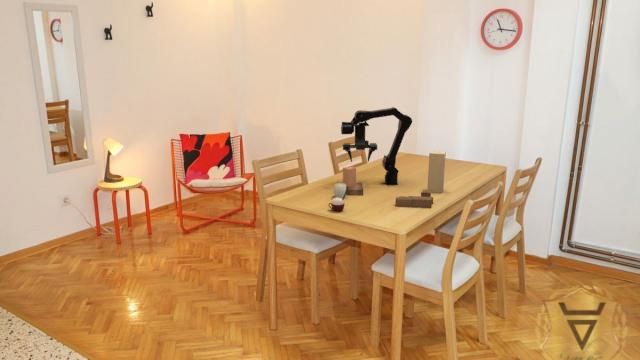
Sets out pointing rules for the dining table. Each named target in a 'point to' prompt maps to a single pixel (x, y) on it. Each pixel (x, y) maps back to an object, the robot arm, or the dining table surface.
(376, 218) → the dining table surface
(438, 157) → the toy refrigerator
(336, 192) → the grey green canister
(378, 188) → the dining table surface
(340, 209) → the cocoa
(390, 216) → the dining table surface
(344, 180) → the terracotta block
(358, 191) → the walnut slab
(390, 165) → the robot arm
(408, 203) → the wooden block set
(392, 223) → the dining table surface
